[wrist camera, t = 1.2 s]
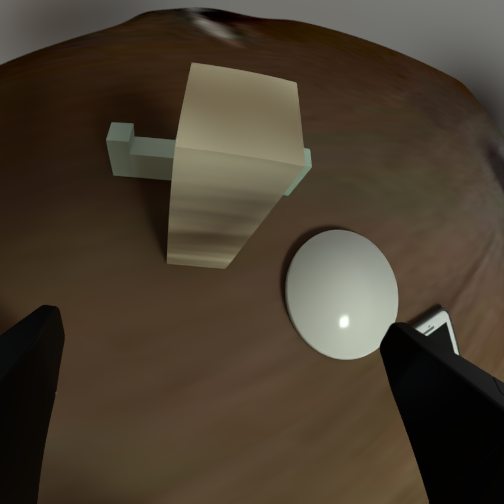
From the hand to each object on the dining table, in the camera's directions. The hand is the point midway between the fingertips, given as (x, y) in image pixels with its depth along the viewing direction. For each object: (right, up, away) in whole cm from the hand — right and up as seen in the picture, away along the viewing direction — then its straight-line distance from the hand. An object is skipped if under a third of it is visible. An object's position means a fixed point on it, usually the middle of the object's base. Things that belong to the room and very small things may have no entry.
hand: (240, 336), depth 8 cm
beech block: (-3, +3, +14) cm, 15 cm away
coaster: (+7, -1, +16) cm, 18 cm away
